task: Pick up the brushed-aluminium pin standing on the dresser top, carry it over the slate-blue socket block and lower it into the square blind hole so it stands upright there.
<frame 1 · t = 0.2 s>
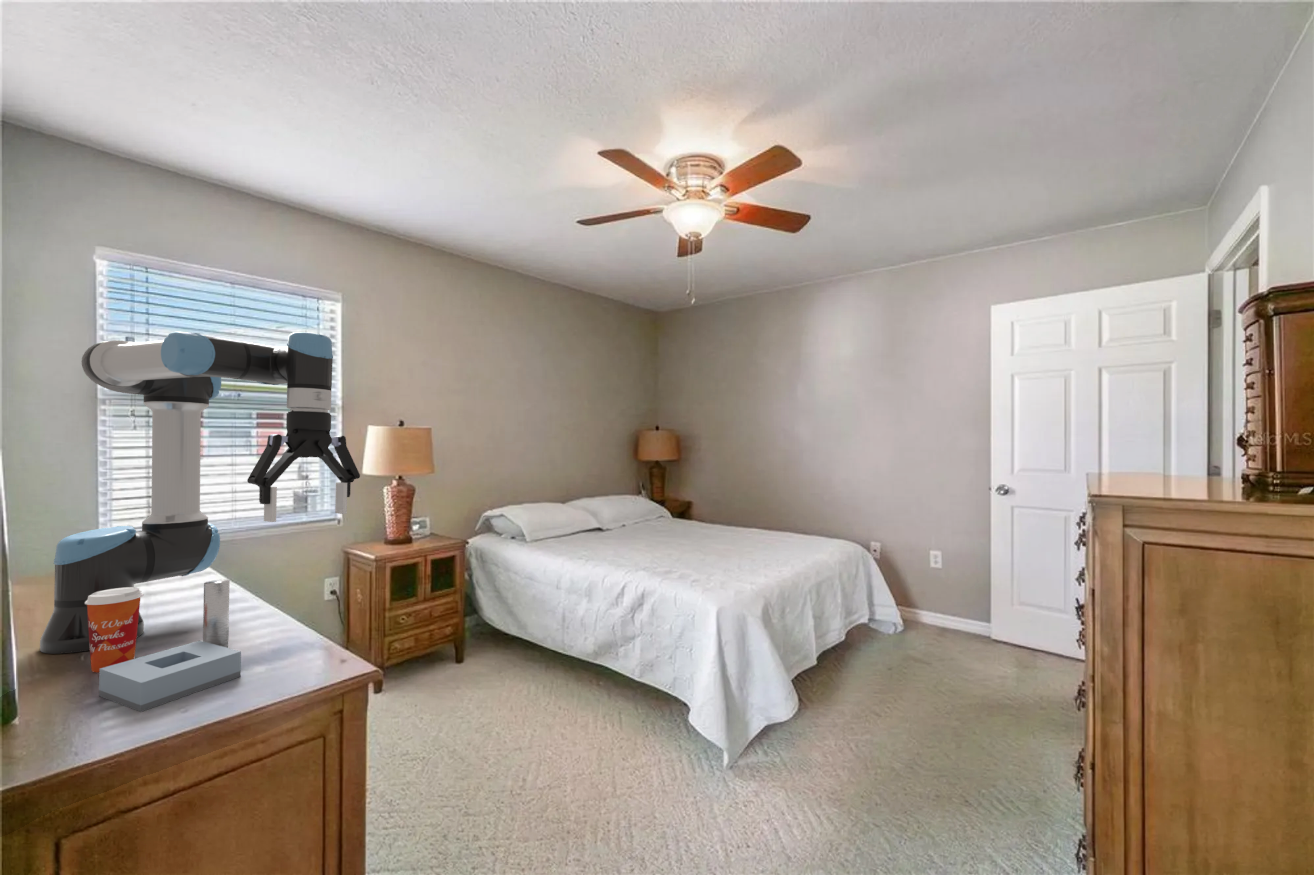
hand: (307, 517, 106), 27 cm above the table, fingers open, 13 cm apart
socket block: (172, 685, 92), on the table
paper cup: (113, 667, 100), on the table
pin: (215, 651, 107), on the table
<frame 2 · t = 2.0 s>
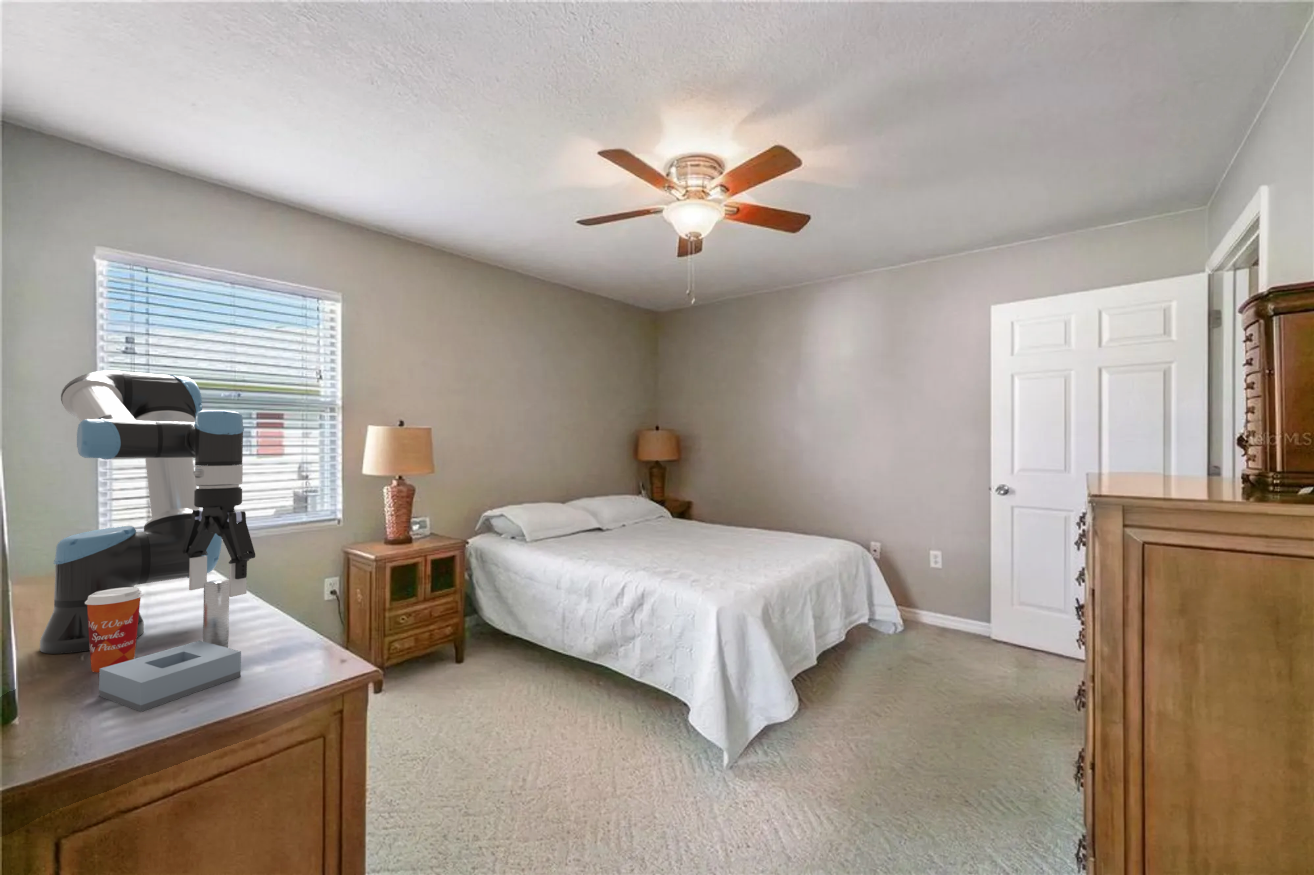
hand: (217, 592, 107), 12 cm above the table, fingers open, 13 cm apart
nothing on the table moved.
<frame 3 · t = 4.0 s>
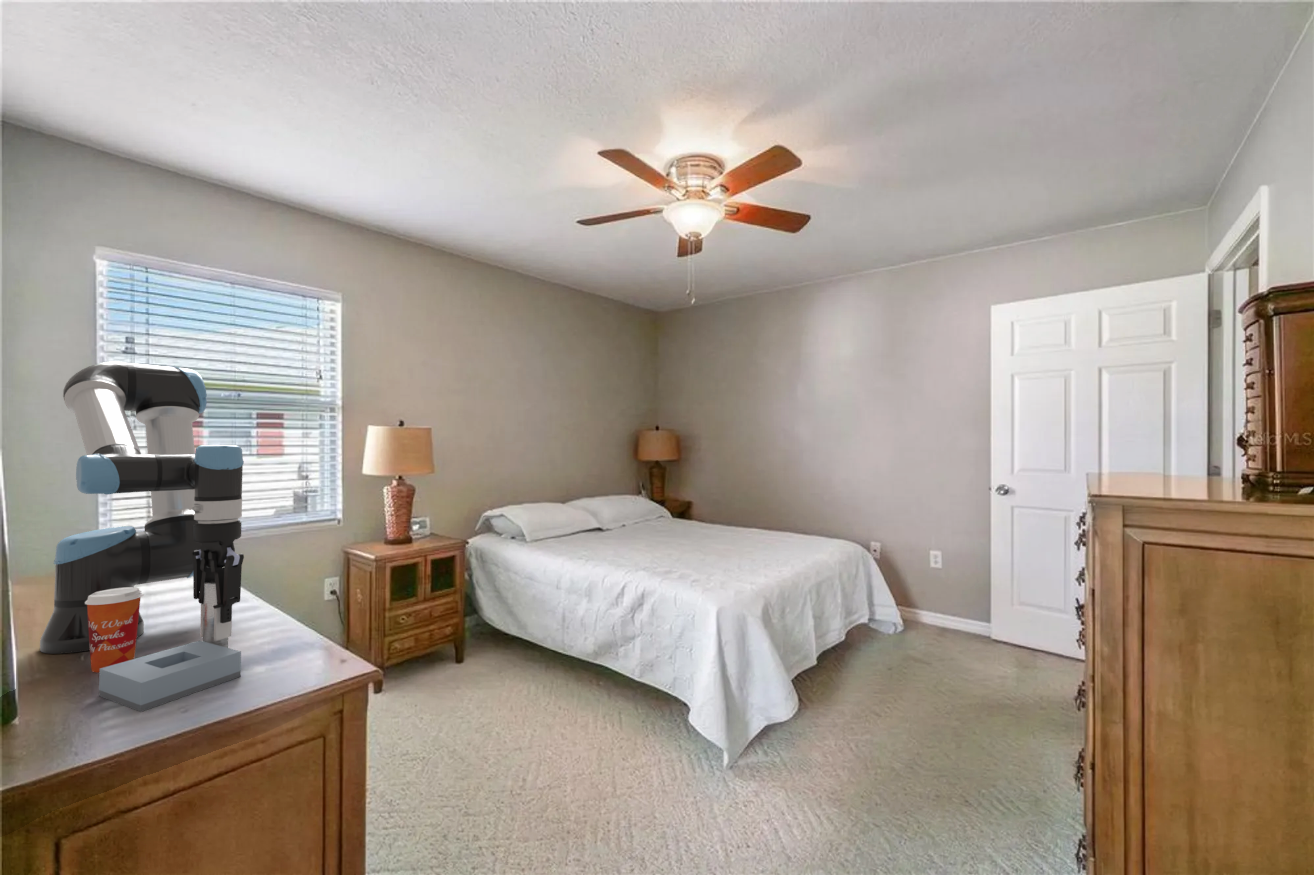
hand: (215, 636, 107), 3 cm above the table, fingers closed on pin, 4 cm apart
pin: (215, 651, 107), on the table, touching gripper
everything else where it was.
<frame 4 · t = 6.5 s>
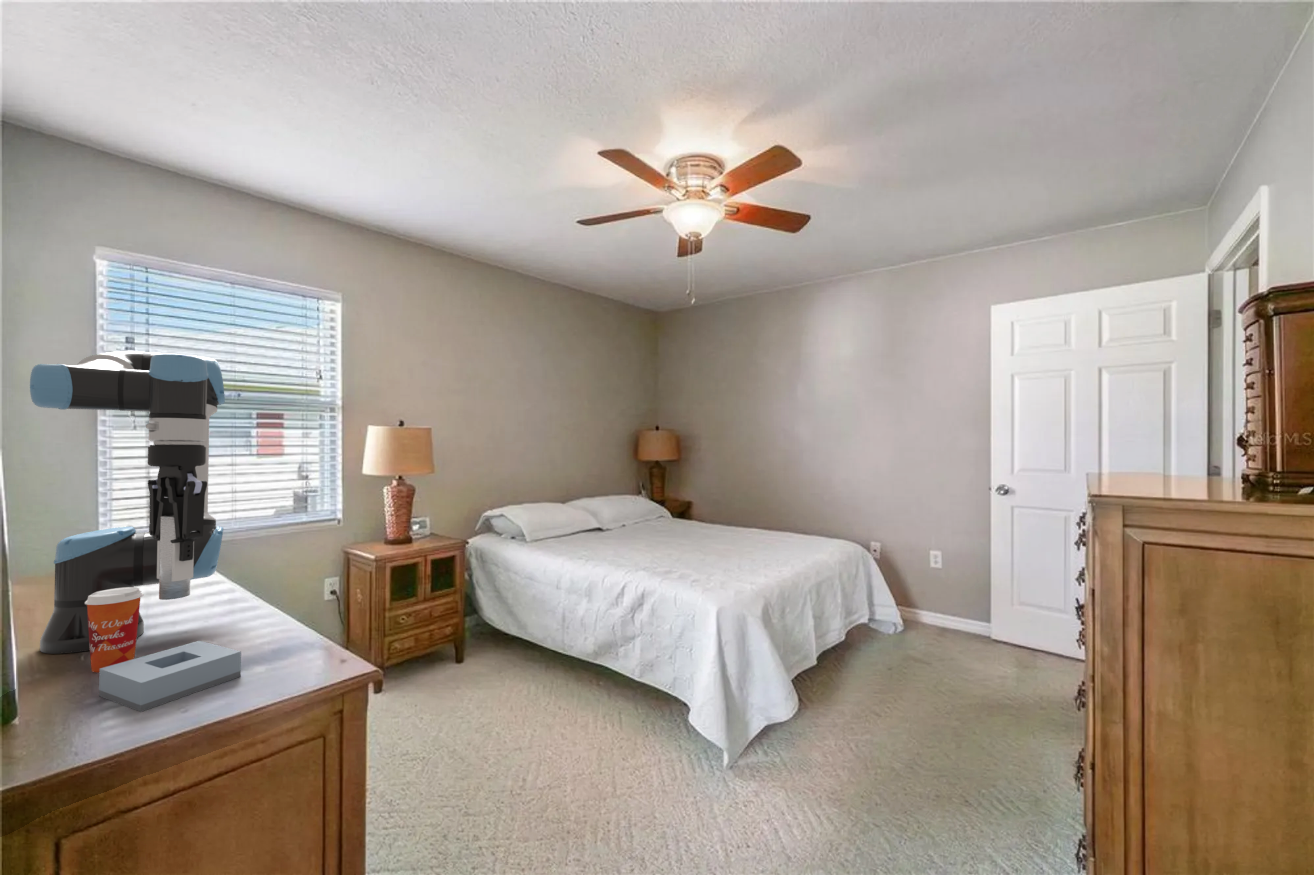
hand: (175, 577, 92), 19 cm above the table, fingers closed on pin, 4 cm apart
pin: (174, 596, 92), point 15 cm above the table, touching gripper
everything else where it was.
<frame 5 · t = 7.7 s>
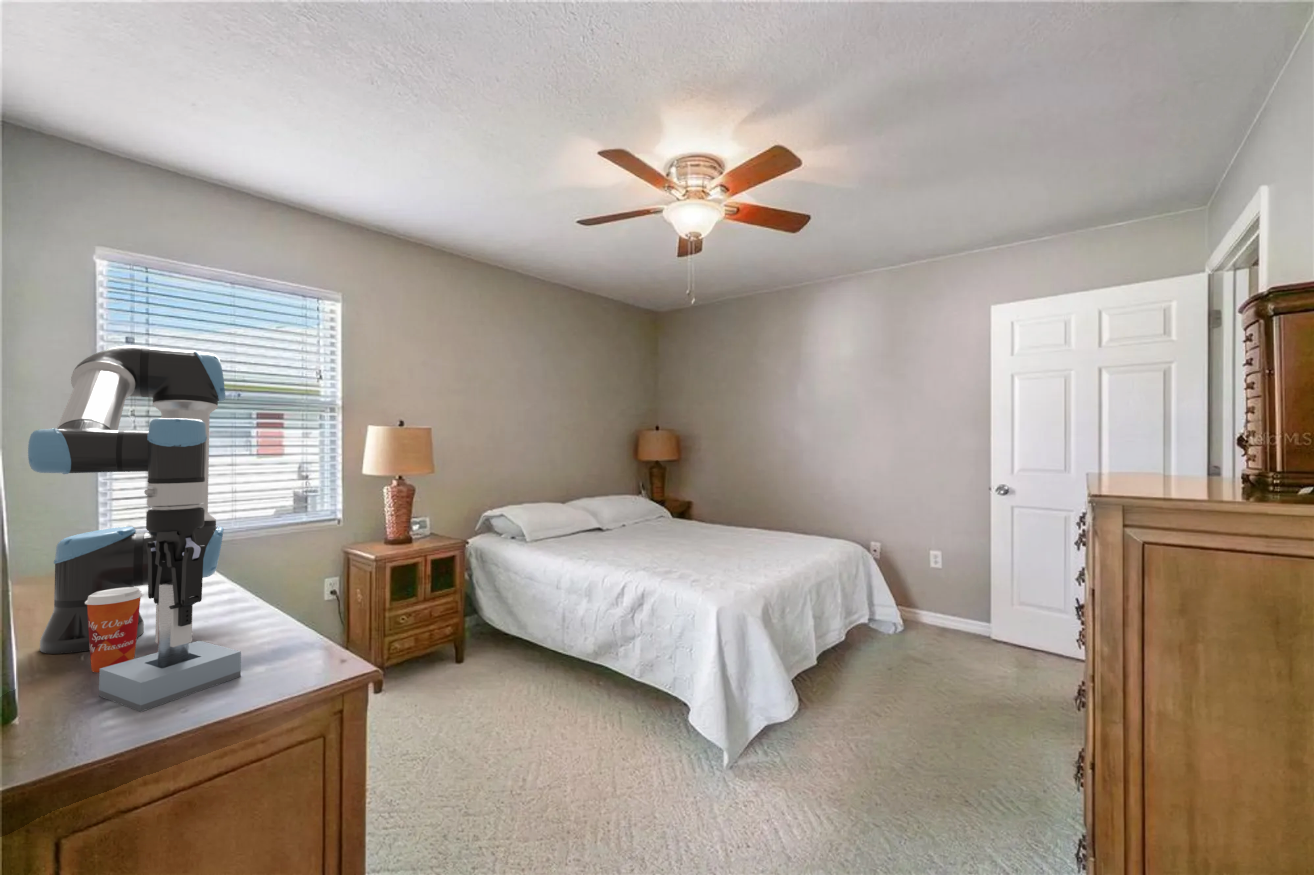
hand: (173, 641, 92), 8 cm above the table, fingers closed on pin, 4 cm apart
pin: (173, 664, 92), point 4 cm above the table, touching gripper
everything else where it was.
when the fingers open (6 cm above the table, at t = 9.0 s): pin stays where it is, resting on socket block.
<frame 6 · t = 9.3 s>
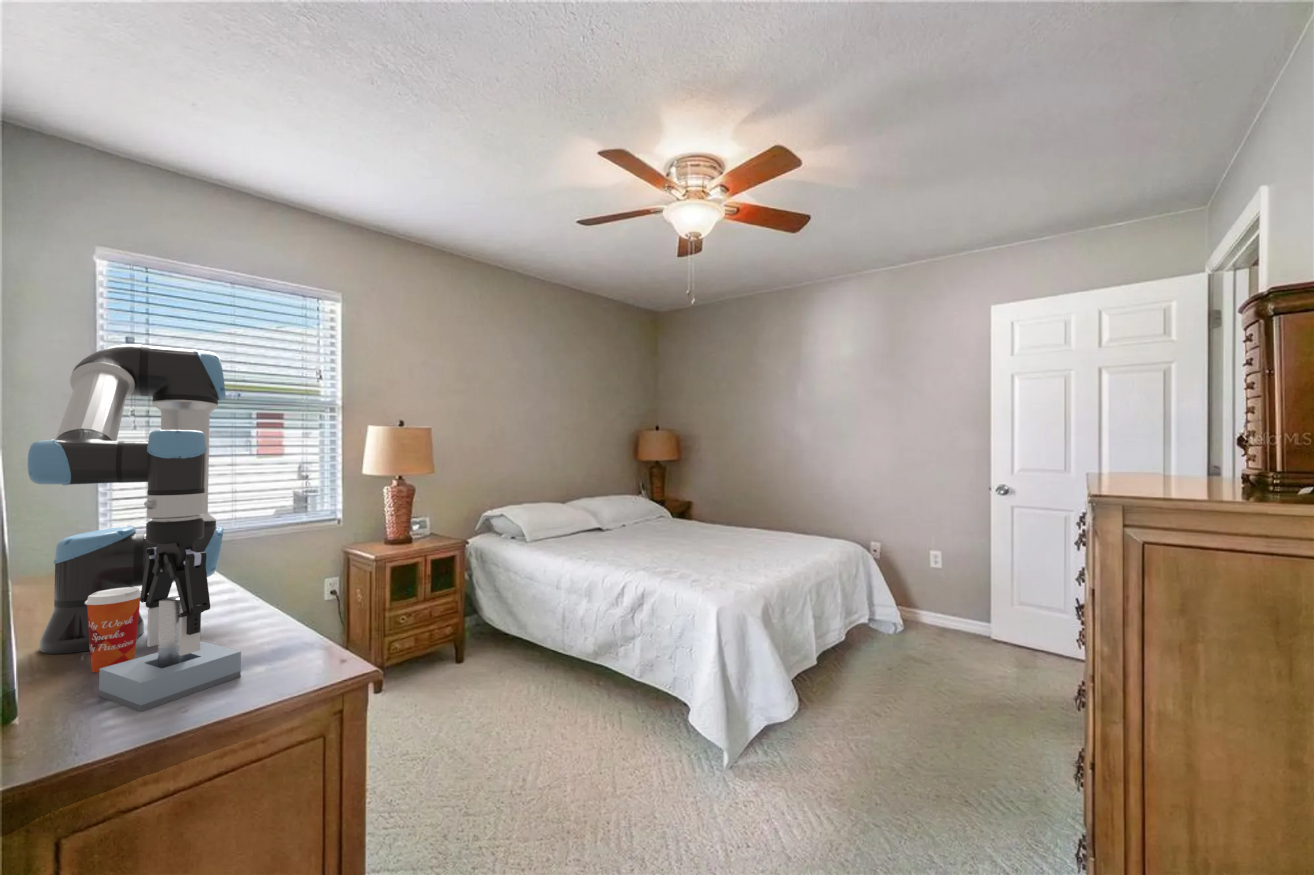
hand: (173, 647, 92), 7 cm above the table, fingers open, 9 cm apart
pin: (172, 679, 92), point 1 cm above the table, touching socket block
everything else where it was.
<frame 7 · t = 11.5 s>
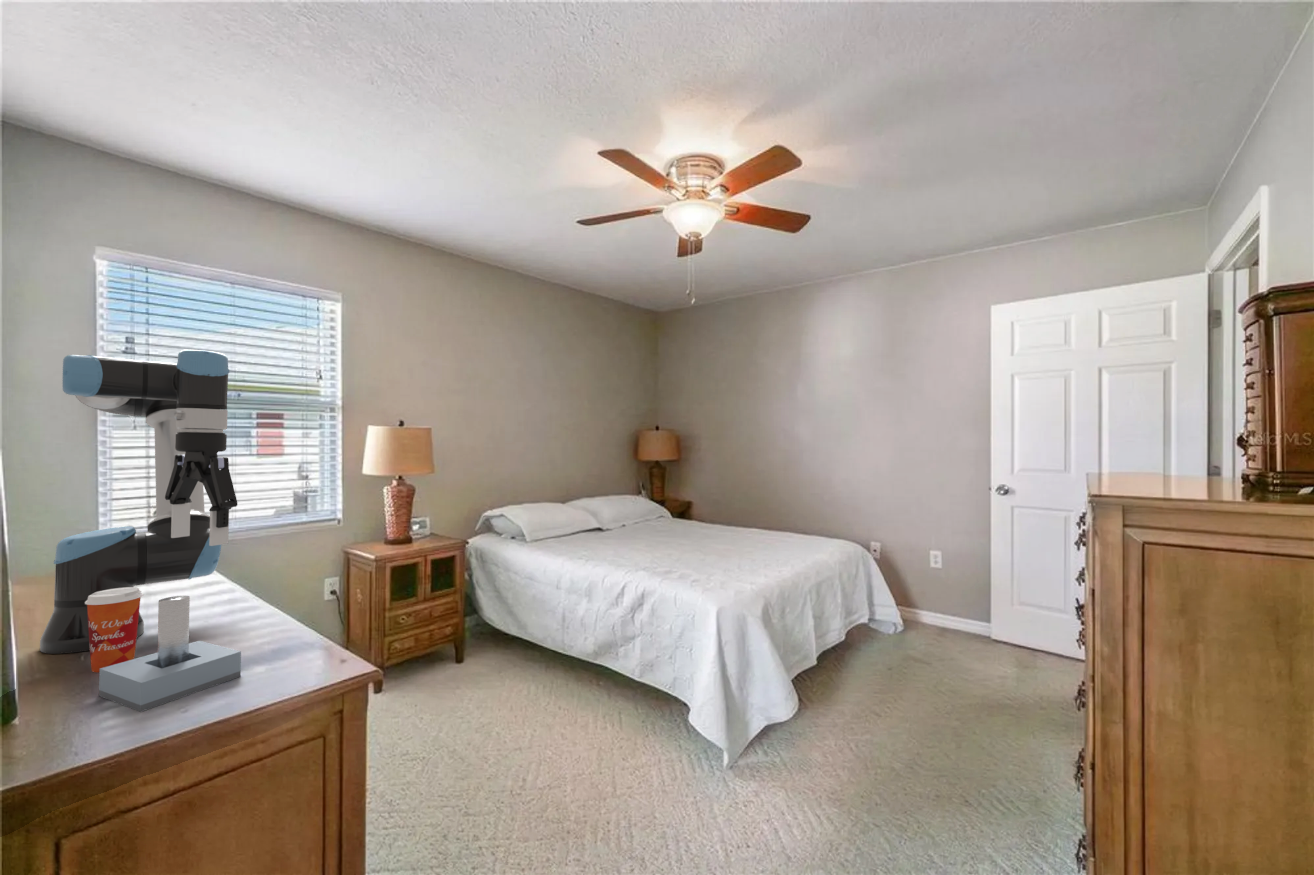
hand: (199, 540, 103), 23 cm above the table, fingers open, 13 cm apart
nothing on the table moved.
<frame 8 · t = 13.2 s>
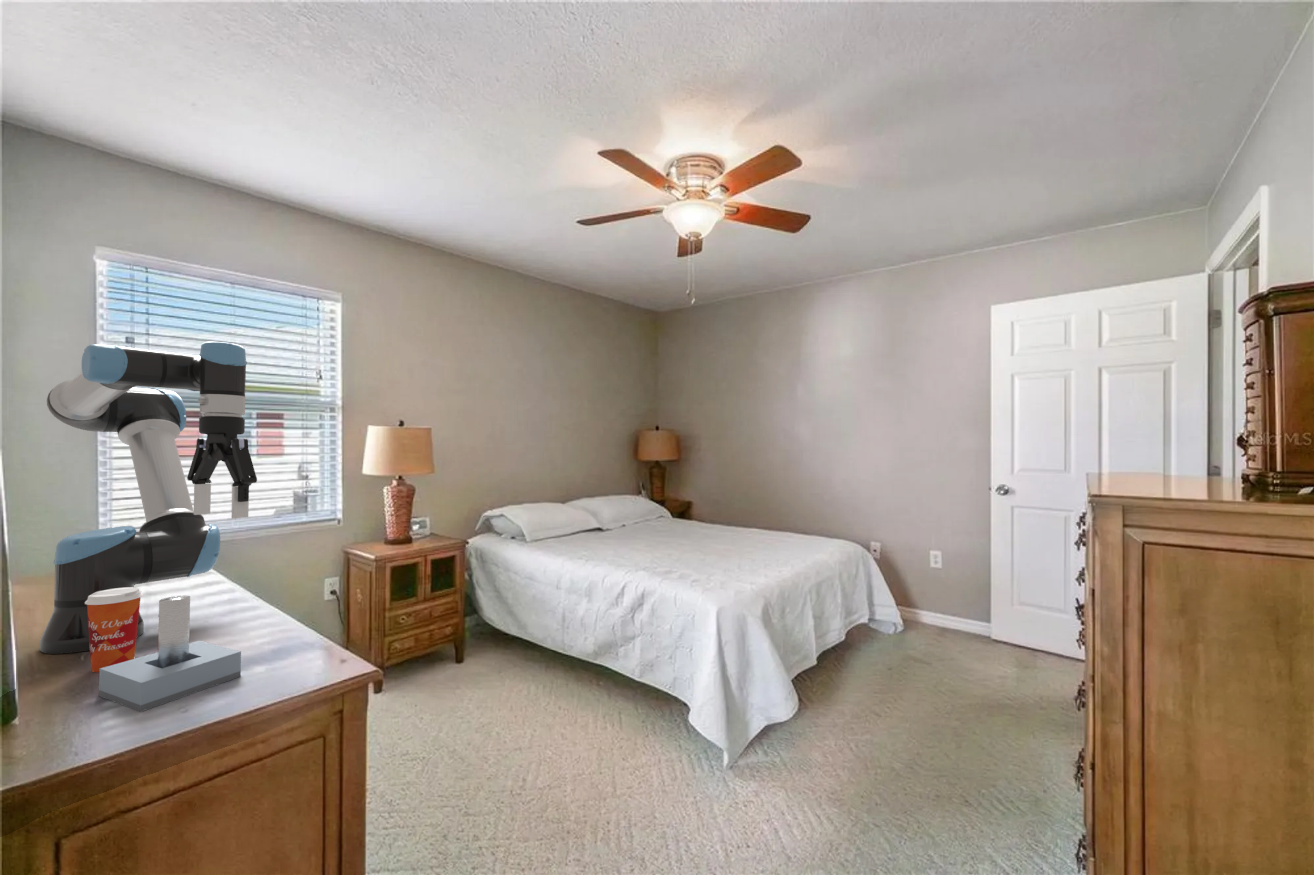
hand: (220, 516, 113), 27 cm above the table, fingers open, 13 cm apart
nothing on the table moved.
at the end: pin 0.0 cm off-centre on the socket block, point 1.0 cm above the socket block's base; pin tilted 0°; the gripper is holding nothing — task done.
